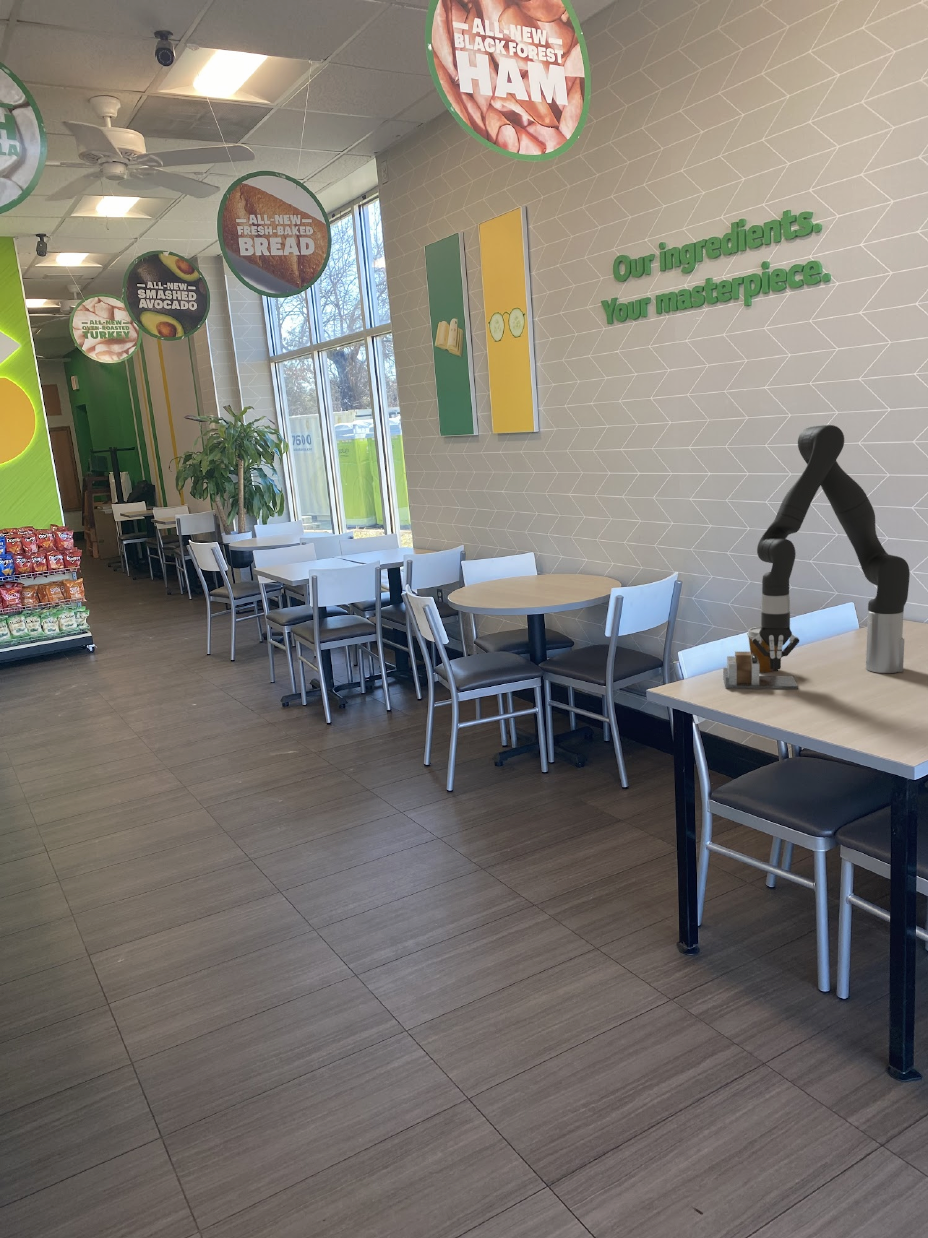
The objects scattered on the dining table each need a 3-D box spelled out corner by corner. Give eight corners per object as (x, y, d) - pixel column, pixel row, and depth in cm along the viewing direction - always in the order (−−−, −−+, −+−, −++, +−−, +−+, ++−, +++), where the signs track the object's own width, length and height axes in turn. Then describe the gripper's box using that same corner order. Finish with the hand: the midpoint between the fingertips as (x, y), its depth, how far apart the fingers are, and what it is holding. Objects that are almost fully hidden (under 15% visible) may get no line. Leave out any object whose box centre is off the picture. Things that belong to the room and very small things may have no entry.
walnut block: (749, 679, 255) (749, 651, 254) (750, 683, 251) (751, 655, 250) (734, 678, 256) (735, 651, 254) (735, 682, 252) (736, 655, 251)
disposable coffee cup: (776, 664, 271) (776, 625, 268) (784, 673, 262) (784, 633, 259) (743, 665, 272) (743, 626, 269) (750, 674, 263) (750, 634, 260)
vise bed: (792, 678, 256) (793, 655, 254) (797, 689, 246) (798, 665, 245) (723, 678, 260) (723, 655, 258) (725, 688, 250) (725, 665, 249)
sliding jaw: (756, 676, 257) (756, 652, 255) (759, 684, 249) (759, 659, 247) (748, 676, 257) (749, 652, 256) (751, 684, 249) (751, 659, 248)
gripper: (751, 613, 246) (751, 674, 250) (802, 612, 243) (802, 674, 247) (749, 607, 253) (749, 667, 257) (799, 606, 250) (798, 666, 254)
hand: (775, 670), depth 252 cm, fingers closed
